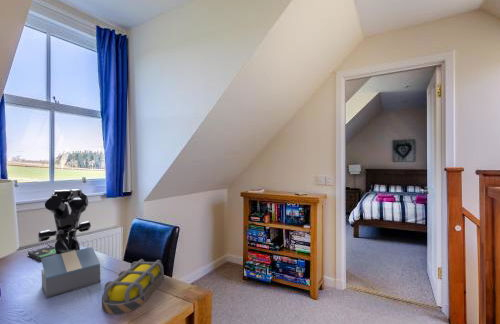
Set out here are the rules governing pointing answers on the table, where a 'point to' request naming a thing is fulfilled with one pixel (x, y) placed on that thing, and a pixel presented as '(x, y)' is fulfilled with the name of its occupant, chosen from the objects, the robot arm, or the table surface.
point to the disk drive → (42, 253)
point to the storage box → (70, 281)
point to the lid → (69, 262)
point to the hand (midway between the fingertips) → (69, 249)
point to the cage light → (132, 287)
